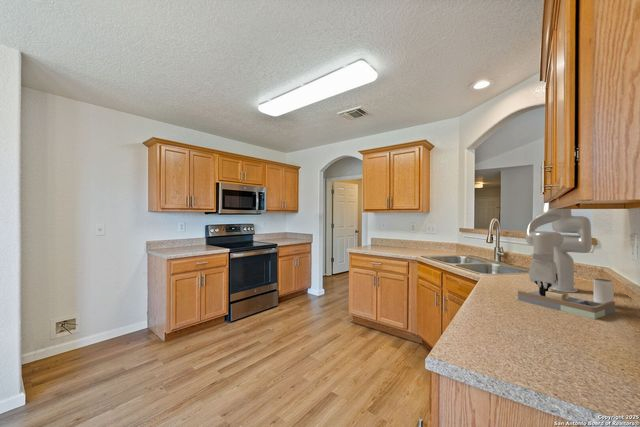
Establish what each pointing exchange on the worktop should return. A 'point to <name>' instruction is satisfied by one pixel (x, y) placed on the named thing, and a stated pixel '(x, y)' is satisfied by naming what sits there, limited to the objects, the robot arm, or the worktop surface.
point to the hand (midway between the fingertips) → (543, 295)
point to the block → (557, 295)
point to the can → (603, 291)
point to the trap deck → (569, 305)
